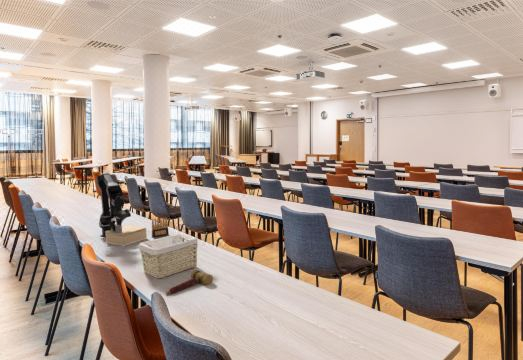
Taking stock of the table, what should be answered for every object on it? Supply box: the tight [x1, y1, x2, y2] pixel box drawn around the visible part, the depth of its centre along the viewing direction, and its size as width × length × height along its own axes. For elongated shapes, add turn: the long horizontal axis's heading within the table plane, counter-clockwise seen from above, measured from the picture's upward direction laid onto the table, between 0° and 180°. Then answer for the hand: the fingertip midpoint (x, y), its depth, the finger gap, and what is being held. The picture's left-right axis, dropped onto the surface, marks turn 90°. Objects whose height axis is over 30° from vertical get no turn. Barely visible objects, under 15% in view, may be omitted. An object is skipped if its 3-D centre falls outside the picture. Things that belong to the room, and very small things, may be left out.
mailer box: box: [105, 228, 148, 247], centre depth 236 cm, size 16×18×6 cm
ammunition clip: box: [151, 217, 170, 239], centre depth 245 cm, size 11×2×12 cm, turn 122°
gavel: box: [165, 269, 214, 296], centre depth 160 cm, size 21×5×10 cm
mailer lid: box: [105, 223, 147, 236], centre depth 236 cm, size 16×18×5 cm
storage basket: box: [138, 233, 199, 279], centre depth 182 cm, size 24×16×15 cm
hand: (116, 230), depth 230 cm, fingers closed on mailer lid, 3 cm apart
